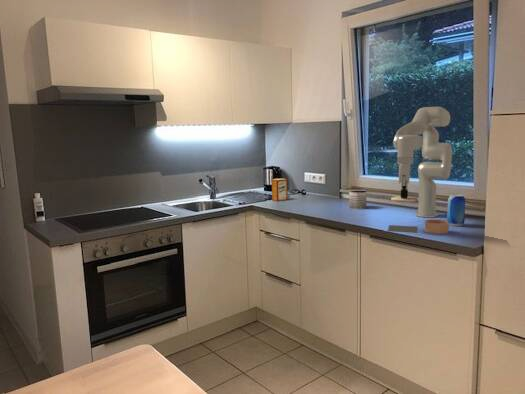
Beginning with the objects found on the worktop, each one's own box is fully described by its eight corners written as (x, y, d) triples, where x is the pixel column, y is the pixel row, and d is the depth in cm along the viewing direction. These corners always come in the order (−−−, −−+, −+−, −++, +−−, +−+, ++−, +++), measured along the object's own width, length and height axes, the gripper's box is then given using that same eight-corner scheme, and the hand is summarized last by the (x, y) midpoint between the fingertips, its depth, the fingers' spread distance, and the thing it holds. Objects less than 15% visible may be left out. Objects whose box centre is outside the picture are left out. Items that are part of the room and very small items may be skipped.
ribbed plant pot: (347, 208, 280) (347, 190, 279) (350, 205, 291) (350, 188, 289) (365, 209, 277) (366, 191, 275) (367, 206, 287) (367, 188, 286)
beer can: (459, 223, 233) (460, 193, 231) (467, 226, 225) (468, 196, 222) (444, 223, 233) (445, 194, 231) (451, 226, 225) (452, 196, 222)
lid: (391, 197, 226) (392, 186, 225) (417, 198, 222) (417, 187, 221) (390, 201, 215) (390, 189, 214) (417, 202, 211) (417, 190, 210)
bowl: (424, 228, 221) (425, 218, 221) (447, 230, 218) (448, 220, 217) (425, 233, 211) (425, 223, 211) (449, 235, 208) (449, 224, 207)
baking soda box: (282, 199, 325) (281, 177, 322) (287, 200, 320) (287, 178, 317) (272, 200, 319) (271, 179, 317) (277, 201, 314) (277, 179, 312)
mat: (389, 225, 230) (389, 225, 230) (417, 227, 225) (417, 226, 225) (387, 231, 217) (387, 231, 217) (417, 233, 212) (417, 232, 212)
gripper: (398, 159, 224) (397, 194, 227) (396, 162, 209) (395, 199, 212) (413, 159, 222) (412, 194, 225) (412, 162, 207) (411, 200, 210)
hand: (404, 196), depth 218 cm, fingers closed on lid, 2 cm apart
